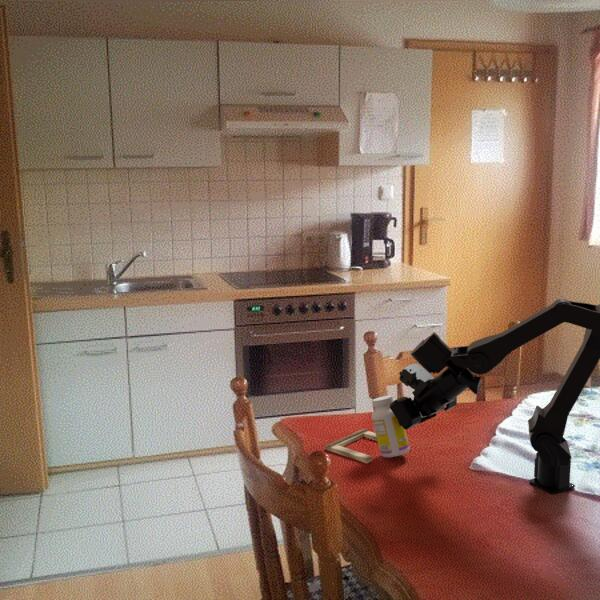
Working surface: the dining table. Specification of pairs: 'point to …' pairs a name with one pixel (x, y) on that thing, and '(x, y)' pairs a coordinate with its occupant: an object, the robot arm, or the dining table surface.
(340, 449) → the frame
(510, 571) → the dining table surface
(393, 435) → the supplement bottle
